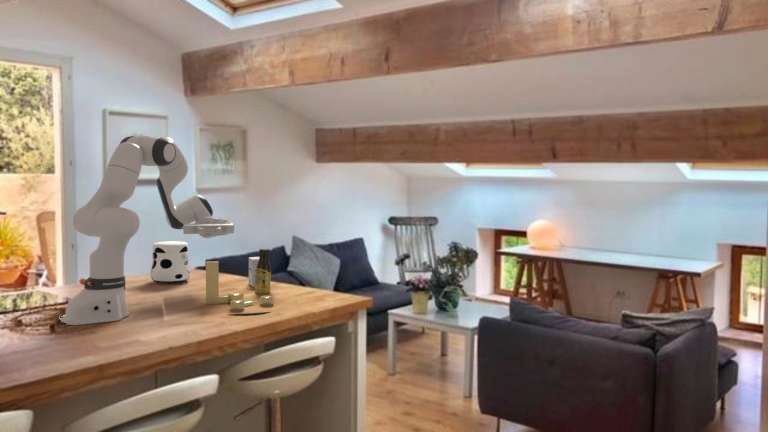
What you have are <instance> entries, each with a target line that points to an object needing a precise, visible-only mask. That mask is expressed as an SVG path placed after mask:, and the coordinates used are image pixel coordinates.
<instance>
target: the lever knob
mask: <svg viewBox="0 0 768 432" xmlns="http://www.w3.org/2000/svg"><path fill="white" fill-rule="evenodd" d="M219 263H220V261H214V260H213V261H205V304H206V305H216V304H217V305H219V304H230V302H231V301H234V300H242V301H244V302H245V300H244V293H242V292H231V293H228V294H227V295H220V293H219V291H220V290H219V286H220V285H219V282H220V281H219V279H220V277H219V273H220V272H219V268H220V267H219Z"/></svg>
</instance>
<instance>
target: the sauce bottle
mask: <svg viewBox="0 0 768 432" xmlns="http://www.w3.org/2000/svg"><path fill="white" fill-rule="evenodd" d="M258 251H259V252H258V253H259V257H260V258H259V261H258V264H257V267H256V279H255V287H254V292H255V294H258V295H259V294H260V295H261V294H262V295H265V294H270V293H271V282H272V281H271V279H272V265H271V262H270V259H269V258H270V257H269V254H270V248H265V247H262V248H259V249H258Z"/></svg>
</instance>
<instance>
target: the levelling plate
mask: <svg viewBox="0 0 768 432" xmlns="http://www.w3.org/2000/svg"><path fill="white" fill-rule="evenodd" d="M229 304H230V305H229V306H230V309H229V310H230V311H231V312H241V311H244V310H245V307H248V306H249V307H250V306H254V301H251V300H250V301H245V300H244V301H242V300H234V301H231V302H230V303H229ZM259 306H261V307H270V306H274V296H272V295H261V296H260V297H259ZM270 313H271V311H267V312H265V311H263V312H249V313H248V312H247V313H246V312H245V313H233V314H228V316H232V317H233V316H235V317H246V316H247V317H248V316H249V317H251V316H253V317H254V316H260V315H261V316H262V315H266V314H270Z"/></svg>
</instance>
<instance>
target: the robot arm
mask: <svg viewBox="0 0 768 432" xmlns="http://www.w3.org/2000/svg"><path fill="white" fill-rule="evenodd" d="M188 165H189V164H188V162H187V160H186V158H185V155H184V154H183V152H182V150H181V149H180V147H179V146H178V144H177V143H176V142H175V140H173V139H172V138H171V137H168V136H160V137H155V136H148V135H144V136H143V135H138V136H137V135H136V136H135V135H132V136H126V137H124V138H123V139H121V140H120V142H119V144H118V145H117V147H116V148H115V149H114V152H113V153H112V155H111V157H110V159H109V162H108V164H107V167H106V169H105V173H104V175H103V178H102V181H101V183H100V185H99V187H98V189H97V191H96V192H95V193H94V194H93V196H92V197H91V198H90V200H89V201H88V202H87V203H86V204H84V205H83V206H82V207H80V208H78V209H77V210H76V211H75V213H74V214H73V217H72V218H73V219H72V224H73V227H74V229H75V231H77V232H78V233H80V234H82V235H84V236H85V235H86V236H88V237H95V238H99V242H98V245H97V248H96V249H95V250H93V251H92V252H91V253H90V255H89V277H87V278H86V279H85V278H82V277H81V278H80V279H79V280H78V282H79V284H80V285H83V286H84V288H83V289H82V290H81V291H80V292H79V293H77V294H76V295H75V296H73V297H72V298H71V299H69V301H68V302H67V304H66V309H65V314H62V315H63V316H61V315H60V316H61V317H63V318H60V316H59V317H58V320H59V319H60V320H61V321H62V322H64V323H66V324H65V325H68V326H69V325H70V326H80V325H81V326H82V325H88V324H99V323H105V322H106V323H107V322H108V323H109V322H115V321H121V320H123V318H125V317H129V315H130V312H129V309H128V304H127V301H126V293H125V291H126V275H124V272H125V271H124V270H125V253H126V249H127V246H128V244H129V241H130V240H131V239H132V238H133V237H134V236H135V235H136V234H137V233H138V231H139V229H140V224H141V223H140V222H141V221H140V218H139V215H138V214H137V213H136V211H134V210H132V209H129V208H125V207H122V205H123V204H124V203H125V202H127V201H128V200H130V199H131V198H132V197H133V195H134V193H135V190H136V186H137V184H138V180H139V178H140V175H141V171H142V166H146V167H157V169H158V172H159V175H158V178H157V179H156V186H157V191H158V193H159V196H160V197H159V198H160V200H161V203H162V207H163V209H164V214H165V220H166V222H167V224H168V225H169V226H170V227H171V228H172V229H174V230H182V231H183V235H199V236H200V237H202V238H205V239H210V238H214V237H218V236H228V235H231V234H232V235H233V234H234V233H235V224H234V223H233V222H231V221H229V219H225V218H215V217H213V215H214V210H213V209H212V205H211V204H210V203H209V202H208V200H207V198H205V197H204V196H203V195H200V194H195V195H193V196H190V197H188V198H186V199H185V200H183V201H181V202H179V203H178V204H175V205H174V201H173V198H172V193H173V191H174V190H175V188H176V187H177V186H178V185H179V184H180V183H182V181H184V179H185V178H186V176H187V174H188V172H189V166H188ZM193 222H194V223H193ZM62 322H61V323H62ZM64 323H63V324H64Z"/></svg>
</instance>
